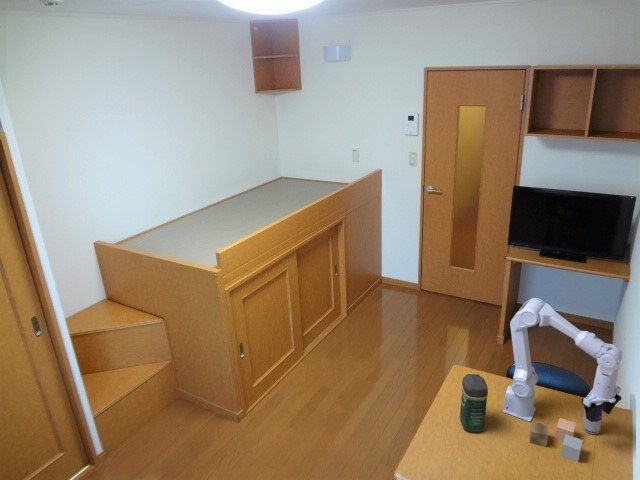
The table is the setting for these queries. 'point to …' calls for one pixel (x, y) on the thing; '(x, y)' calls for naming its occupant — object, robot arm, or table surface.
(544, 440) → the walnut block
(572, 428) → the terracotta block
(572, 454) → the slate block
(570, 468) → the table surface
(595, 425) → the energy drink
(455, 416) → the table surface
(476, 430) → the coffee jar
